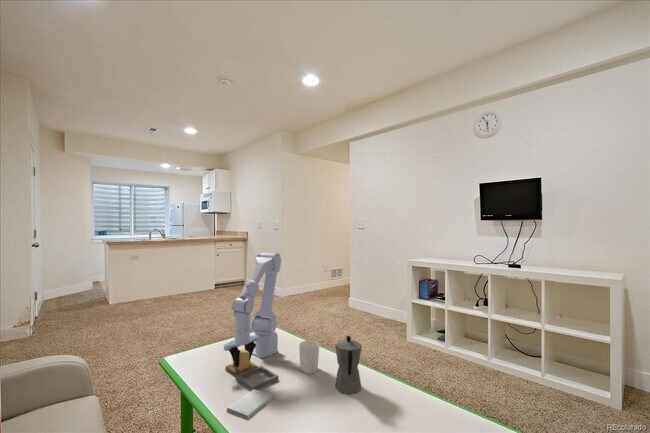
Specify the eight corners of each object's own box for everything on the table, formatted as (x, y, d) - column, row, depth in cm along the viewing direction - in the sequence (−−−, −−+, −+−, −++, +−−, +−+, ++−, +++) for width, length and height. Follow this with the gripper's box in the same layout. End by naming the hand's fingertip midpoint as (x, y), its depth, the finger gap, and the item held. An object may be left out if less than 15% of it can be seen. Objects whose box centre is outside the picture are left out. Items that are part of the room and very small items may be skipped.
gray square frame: (261, 369, 122) (261, 365, 122) (278, 379, 114) (278, 375, 114) (235, 379, 114) (235, 375, 114) (252, 391, 106) (252, 387, 106)
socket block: (245, 362, 128) (245, 359, 128) (258, 370, 122) (258, 366, 122) (225, 370, 121) (225, 366, 121) (237, 378, 115) (237, 374, 115)
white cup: (295, 372, 120) (295, 346, 121) (304, 363, 128) (304, 339, 128) (314, 376, 118) (314, 349, 118) (322, 367, 125) (322, 342, 125)
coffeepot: (334, 377, 116) (334, 329, 117) (359, 378, 116) (360, 329, 117) (335, 401, 101) (335, 345, 101) (364, 402, 101) (364, 346, 101)
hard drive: (247, 415, 92) (272, 394, 103) (226, 407, 95) (253, 388, 106) (247, 421, 92) (272, 399, 103) (226, 413, 95) (253, 393, 106)
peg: (243, 366, 124) (243, 349, 124) (249, 370, 121) (249, 352, 122) (234, 370, 121) (234, 352, 121) (239, 373, 119) (240, 355, 119)
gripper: (252, 322, 130) (252, 355, 129) (220, 330, 119) (219, 366, 119) (262, 326, 125) (262, 360, 125) (229, 335, 114) (228, 372, 114)
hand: (241, 363), depth 121 cm, fingers open, 4 cm apart
